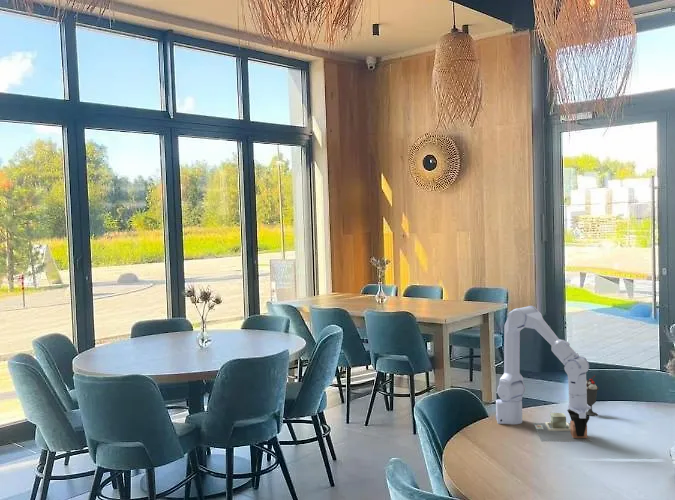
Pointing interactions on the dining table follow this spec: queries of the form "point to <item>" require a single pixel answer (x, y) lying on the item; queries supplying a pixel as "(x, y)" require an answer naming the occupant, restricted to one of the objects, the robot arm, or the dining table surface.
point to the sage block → (558, 420)
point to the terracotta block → (573, 431)
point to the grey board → (556, 433)
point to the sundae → (591, 395)
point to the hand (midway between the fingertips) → (578, 433)
